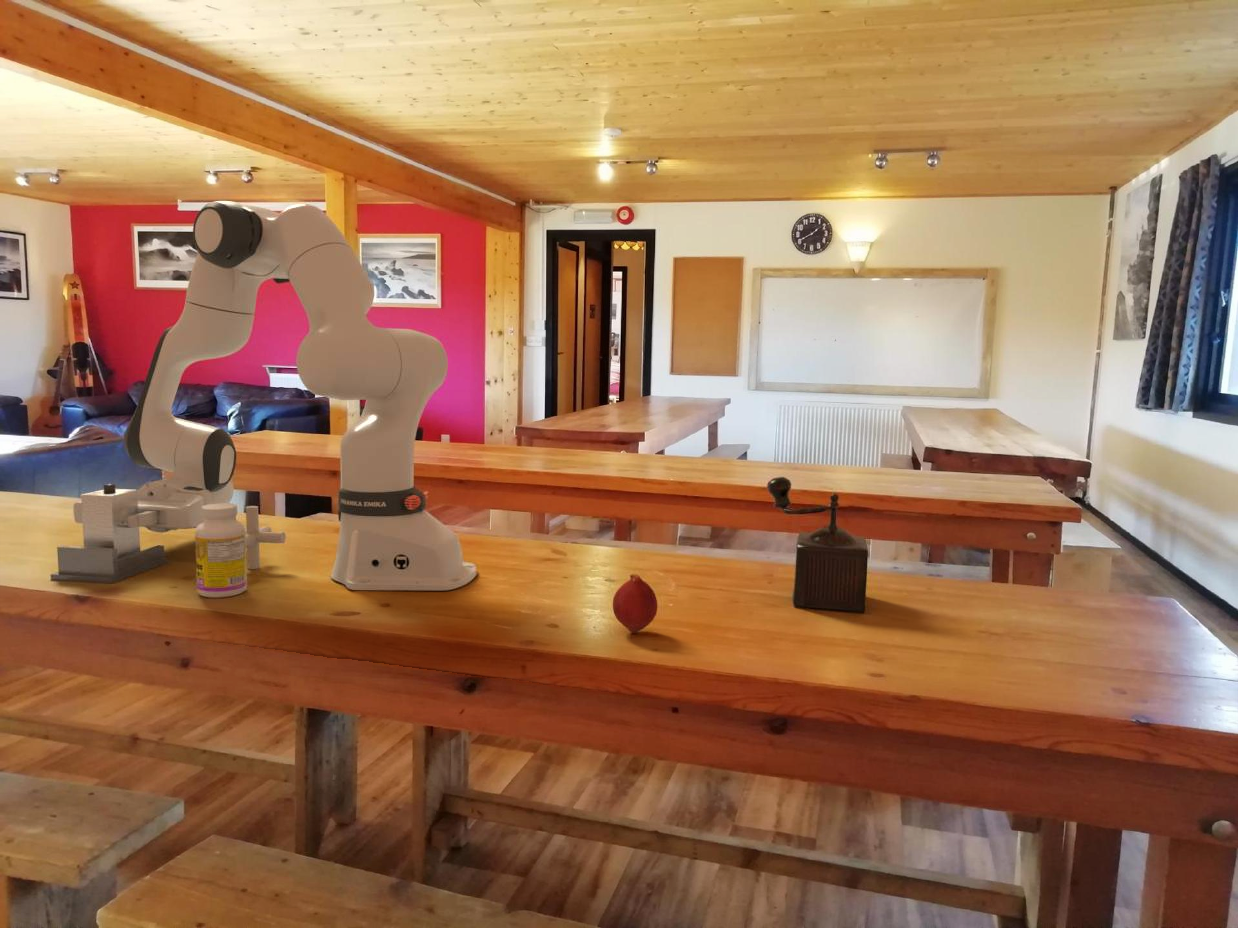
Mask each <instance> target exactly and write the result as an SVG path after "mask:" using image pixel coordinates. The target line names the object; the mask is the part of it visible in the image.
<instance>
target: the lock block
mask: <svg viewBox="0 0 1238 928" xmlns="http://www.w3.org/2000/svg"><path fill="white" fill-rule="evenodd" d="M80 500H81V505H82V522H83V524H82V535H83V538H82V540H83V547H96V548H113V549H117V558H118V559H120V558H123V557H125V556H128V555H131V554H134V553H137V552H140V551H141V539H140V538H141V536H140V527H139V526H137V527H134V528H127V527H123V525H122V523H123V521H122V518H123V516H127V515H135V514H139V512H138V489H128V488H127V489H126V488H116V483H105V484H103V488H102V489H101V490H95V491H92V492H87V493H82V494H80Z"/></svg>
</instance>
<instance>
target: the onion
mask: <svg viewBox="0 0 1238 928" xmlns="http://www.w3.org/2000/svg"><path fill="white" fill-rule="evenodd" d="M629 577H630V579H629V580H628V581H626V582H625V583H623V584H622V585H621V586H620V587H619V588H618V589H617V591H616V592H615V594H614V596H613V598H612V599H613V600H612V609H613V614H614V616H615V618H616V620H617V622H619V623H620V624H621V625H622V626H624V627H625V628H626V629H627V630H628V631H629V632H630V633H632V634H637V633H639V632H640V631H641V630H643V629H645V628H646V627H648V626H649V625H650V624H651V623H652V621H654V619H655V617H656V616H657V613H658V608H659V607H658V600H657V599H658V598H657V596H656V593H655V591H654V590H653V589H652V587H651V586H650V585H649V584H648V583H647V582H646V581H644V580H643V579H642V578H641V577H640V575H639V574H637V573H631V574H630V575H629Z"/></svg>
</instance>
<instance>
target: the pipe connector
mask: <svg viewBox="0 0 1238 928" xmlns="http://www.w3.org/2000/svg"><path fill="white" fill-rule="evenodd" d="M245 518H246V521H245V522H246V527H245V528H246V530H245V542H246V562H247V569H248V570H249V569H250V570H257V569H260V567H261V562H260V561H261V560H260V544H285V542H286V535H287V534H286V532H284V531H283V532H282V531H281V532H279V531H272V529H271V527H270V526H269V525H263V526H260V527H259V524H260V523H259V506H258V505H257V506H256V505H247V506H246V507H245Z"/></svg>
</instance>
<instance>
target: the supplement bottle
mask: <svg viewBox="0 0 1238 928" xmlns="http://www.w3.org/2000/svg"><path fill="white" fill-rule="evenodd" d="M201 510H202V516H203V518H204V522H203V523H201V524H200V525H198V526H197V528H195V530H194V540H195V545H194V546H195V548H194V549H195V567H196V568H195V569H196V570H195V572H196V573H195V574H196V575H195V577H196V590H197V593H198V594H199V595H200V596H202V597H204V598H210V599H211V598H212V599H215V598H216V599H218V598H228V597H234V596H238V595H240V594H242V593H244V592H245V591H246V590H247V586H248V573H247V572H248V571H247V547H246V542H245V531H246V527H245V525H244V524H243V523H242V522H241V521H239V520H237V516H238V505H237V504H235V503H231V502H230V503H218V504H209V505H205V506H202V508H201Z"/></svg>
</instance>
